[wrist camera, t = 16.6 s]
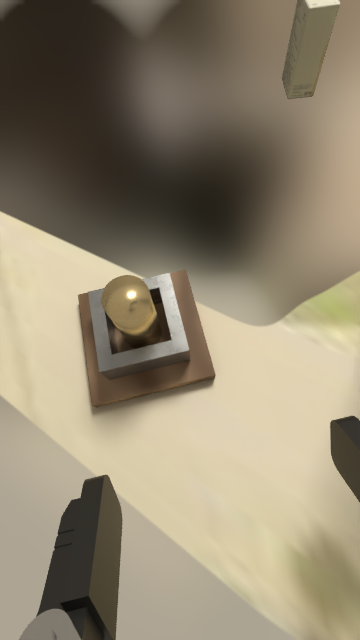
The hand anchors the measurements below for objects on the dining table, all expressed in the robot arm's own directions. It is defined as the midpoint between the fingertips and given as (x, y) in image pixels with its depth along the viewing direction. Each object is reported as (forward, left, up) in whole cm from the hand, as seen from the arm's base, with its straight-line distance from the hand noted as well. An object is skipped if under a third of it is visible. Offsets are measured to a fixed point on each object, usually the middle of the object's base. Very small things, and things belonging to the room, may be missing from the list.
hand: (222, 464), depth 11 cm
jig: (+4, -15, -25) cm, 29 cm away
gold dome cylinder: (+4, -15, -23) cm, 28 cm away
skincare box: (-30, -53, -25) cm, 66 cm away
